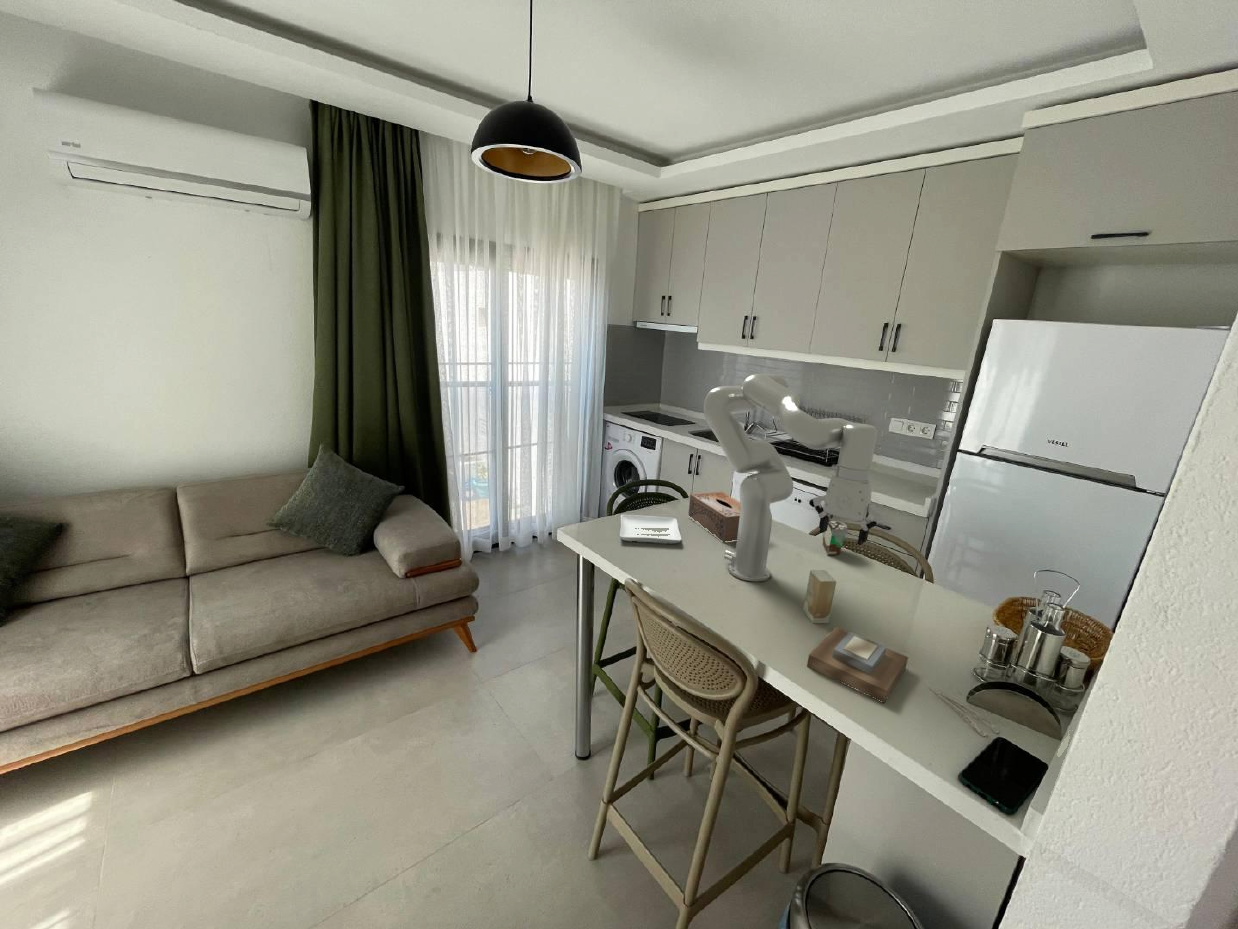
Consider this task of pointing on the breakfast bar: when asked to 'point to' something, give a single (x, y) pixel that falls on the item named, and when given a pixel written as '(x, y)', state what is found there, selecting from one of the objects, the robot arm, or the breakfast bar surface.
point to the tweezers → (968, 713)
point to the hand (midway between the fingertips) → (841, 537)
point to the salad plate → (641, 521)
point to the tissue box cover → (716, 514)
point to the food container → (834, 537)
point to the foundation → (858, 663)
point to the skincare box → (819, 596)
